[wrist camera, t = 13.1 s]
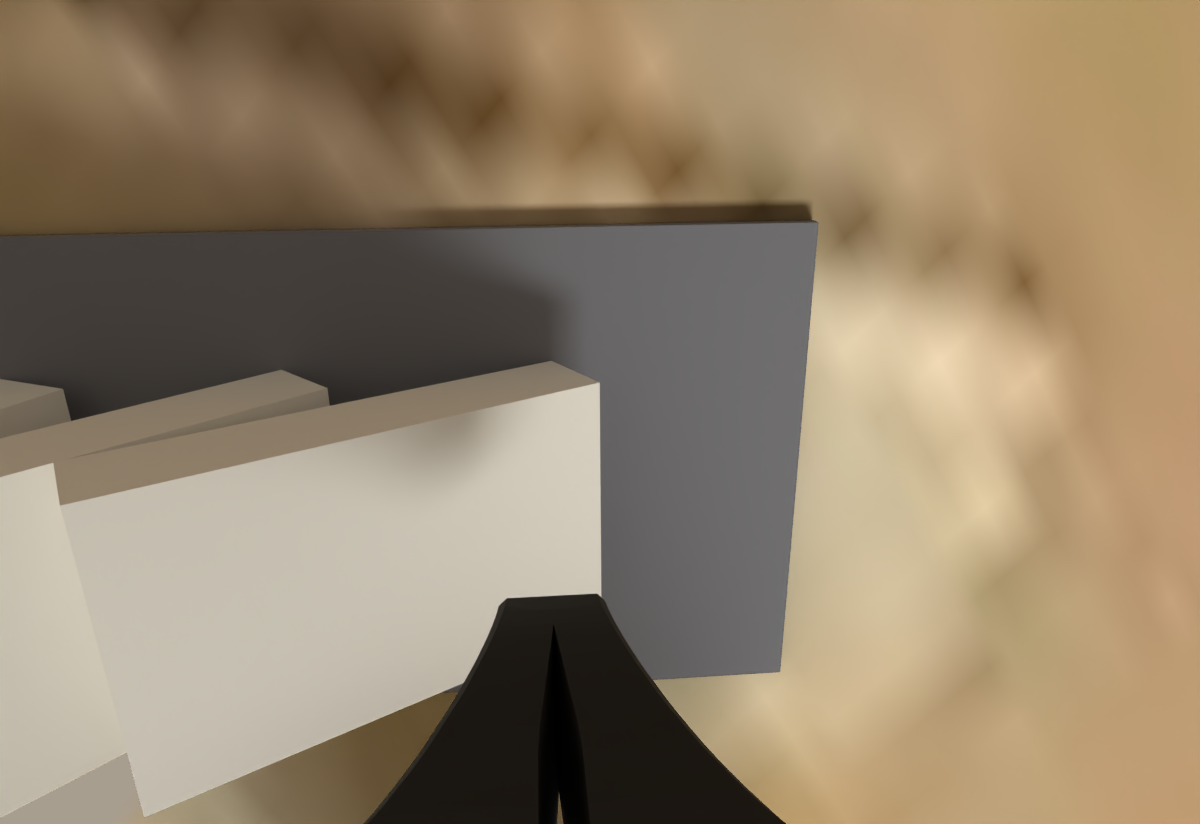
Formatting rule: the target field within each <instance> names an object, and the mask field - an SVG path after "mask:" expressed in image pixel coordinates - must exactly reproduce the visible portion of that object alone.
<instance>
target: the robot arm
mask: <svg viewBox="0 0 1200 824" xmlns="http://www.w3.org/2000/svg"><path fill="white" fill-rule="evenodd" d="M559 794H560V802H561V809H562V816H563V823H564V824H786V823H785V822H783V821H782V820H781V819H780V818H779V817H777V816H776V815H775V814H774V813H773V812H772V811H771V810H770V809H769V808H768V807H766V806H765V805H764V804H763V803H762V802H761V801H760V800H759V799H758V798H757V797H756V796H755V795H753V794H752V793H751V792H750V791H749V790H748V789H747V788H746V787H745V786H744V785H743V784H742V783H741V782H740V781H739V780H738V779H737V778H736V777H735V776H734V775H733V774H732V773H731V772H730V771H729V770H728V769H727V768H726V767H725V766H724V765H723V764H722V763H721V762H720V761H719V760H718V759H717V758H716V757H715V756H714V754H713V753H712V752H711V751H710V750H709V749H708V748H707V747H706V746H705V745H704V743H703V742H702V741H701V740H700V739H699V738H698V737H697V736H696V734H695V733H694V732H693V731H692V730H691V728H690V727H689V726H688V725H687V724H686V722H685V721H684V720H683V719H682V718H681V717H680V715H679V714H678V713H677V712H676V710H675V709H674V708H673V707H672V705H671V704H670V703H669V701H668V700H667V699H666V698H665V696H664V695H663V694H662V692H661V691H660V690H659V688H658V687H657V685H656V684H655V683H654V681H653V680H652V678H651V677H650V676H649V674H648V673H647V672H646V670H645V669H644V667H643V666H642V665H641V663H640V662H639V660H638V659H637V657H636V656H635V654H634V653H633V651H632V649H631V648H630V646H629V645H628V643H627V641H626V640H625V638H624V637H623V635H622V633H621V631H620V630H619V628H618V626H617V624H616V623H615V621H614V619H613V617H612V615H611V613H610V611H609V609H608V607H607V604H606V602H605V600H604V599H603V598H601V597H600V596H599V595H598V594H578V595H559V596H540V597H521V598H507V599H505V600H504V601H503V602H502V603H501V604H500V605H499V607H498V610H497V614H496V617H495V619H494V622H493V625H492V627H491V630H490V632H489V634H488V637H487V639H486V641H485V643H484V645H483V647H482V649H481V651H480V653H479V655H478V657H477V660H476V661H475V663H474V665H473V667H472V669H471V671H470V672H469V674H468V676H467V678H466V680H465V681H464V683H463V685H462V687H461V689H460V690H459V692H458V694H457V696H456V698H455V699H454V701H453V703H452V704H451V706H450V708H449V709H448V711H447V712H446V714H445V715H444V717H443V718H442V720H441V721H440V723H439V724H438V726H437V727H436V729H435V731H434V732H433V734H432V735H431V737H430V738H429V740H428V741H427V743H426V744H425V746H424V747H423V749H422V750H421V752H420V753H419V755H418V756H417V757H416V759H415V760H414V761H413V763H412V764H411V766H410V767H409V768H408V770H407V771H406V772H405V774H404V775H403V776H402V778H401V779H400V780H399V782H398V783H397V784H396V785H395V787H394V788H393V789H392V790H391V792H390V793H389V794H388V796H387V797H386V798H385V799H384V801H383V802H382V803H381V804H380V806H379V807H378V808H377V809H376V810H375V812H374V813H373V814H372V815H371V816H370V817H369V819H368V820H367V821H366V822H365V823H364V824H557V814H558V795H559Z"/></svg>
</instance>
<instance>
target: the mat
mask: <svg viewBox="0 0 1200 824" xmlns="http://www.w3.org/2000/svg"><path fill="white" fill-rule="evenodd" d="M818 223H819V222H816V221H814V220H803V221H750V222H697V223H644V224H592V225H539V226H486V227H433V228H380V229H328V230H275V231H222V232H169V233H116V234H63V235H11V236H0V379H4V380H10V381H16V382H23V383H29V384H35V385H42V386H48V387H54V388H61V389H63V391H64V395H65V399H66V403H67V407H68V411H69V415H70V419H71V421H73V420H78V419H82V418H86V417H90V416H94V415H98V414H102V413H106V412H110V411H114V410H119V409H123V408H127V407H131V406H135V405H139V404H143V403H147V402H151V401H155V400H159V399H164V398H168V397H172V396H176V395H180V394H184V393H188V392H192V391H196V390H200V389H204V388H209V387H213V386H217V385H221V384H225V383H229V382H233V381H237V380H241V379H245V378H249V377H254V376H258V375H262V374H266V373H270V372H274V371H278V370H284V371H286V372H289V373H291V374H293V375H296V376H298V377H301V378H303V379H306V380H308V381H311V382H313V383H316V384H318V385H321V386H323V387H326V388H327V389H328V396H329V404H330V406H331V405H336V404H341V403H346V402H351V401H356V400H361V399H366V398H371V397H376V396H381V395H385V394H390V393H395V392H400V391H405V390H410V389H415V388H420V387H425V386H430V385H435V384H440V383H444V382H449V381H454V380H459V379H464V378H469V377H474V376H479V375H484V374H489V373H494V372H499V371H504V370H508V369H513V368H518V367H523V366H528V365H533V364H538V363H543V362H548V361H553V362H555V363H558V364H560V365H562V366H564V367H566V368H569V369H571V370H573V371H575V372H577V373H580V374H582V375H584V376H586V377H589V378H591V379H593V380H595V381H597V382H600V486H601V598H603V599H604V600H605V602H606V604H607V607H608V609H609V611H610V613H611V615H612V617H613V619H614V621H615V623H616V624H617V626H618V628H619V630H620V631H621V633H622V635H623V637H624V638H625V640H626V641H627V643H628V645H629V646H630V648H631V649H632V651H633V653H634V654H635V656H636V657H637V659H638V660H639V662H640V663H641V665H642V666H643V667H644V669H645V670H646V672H647V673H648V674H649V676H650V677H651V678H652V680H658V679H674V678H690V677H707V676H723V675H740V674H756V673H773V672H780V666H781V655H782V643H783V631H784V620H785V608H786V596H787V585H788V573H789V561H790V550H791V538H792V526H793V515H794V503H795V491H796V480H797V468H798V456H799V445H800V433H801V421H802V410H803V398H804V386H805V375H806V363H807V351H808V340H809V328H810V316H811V305H812V293H813V281H814V270H815V258H816V246H817V235H818ZM462 685H463V683H462V684H460V685H458V686H455V687H453V688H451V689H448V690H446V691H443V692H441V693H444V692H459V690H460V689H461V687H462Z"/></svg>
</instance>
